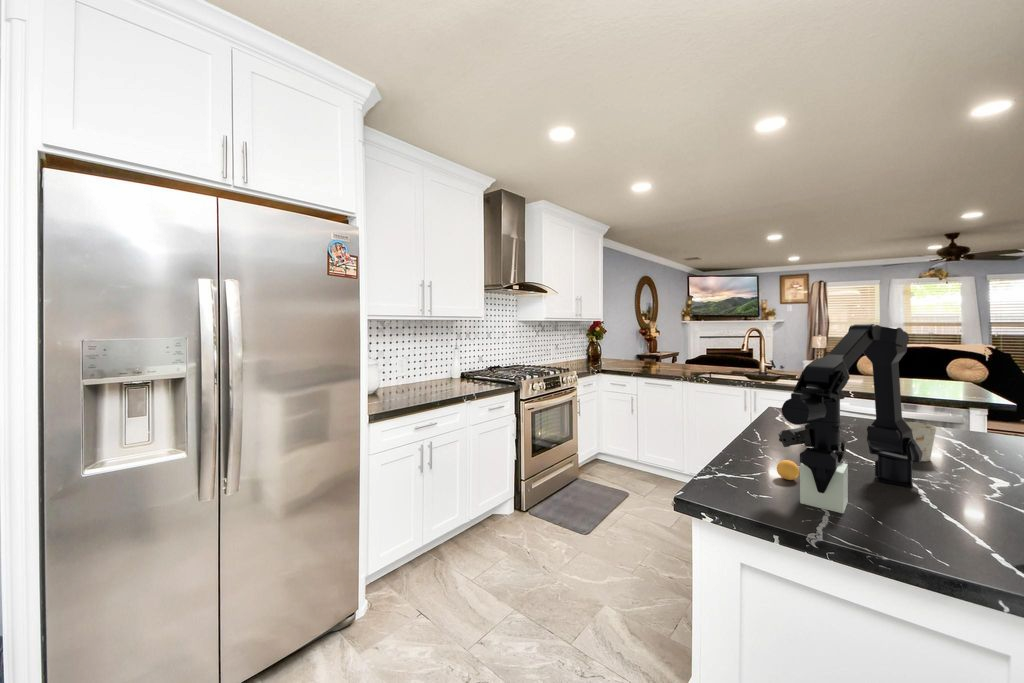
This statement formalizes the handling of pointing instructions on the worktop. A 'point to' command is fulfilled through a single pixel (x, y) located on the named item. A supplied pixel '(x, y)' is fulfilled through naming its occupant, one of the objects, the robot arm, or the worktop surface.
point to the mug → (923, 438)
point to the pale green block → (833, 495)
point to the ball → (788, 470)
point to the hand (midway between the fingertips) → (823, 487)
